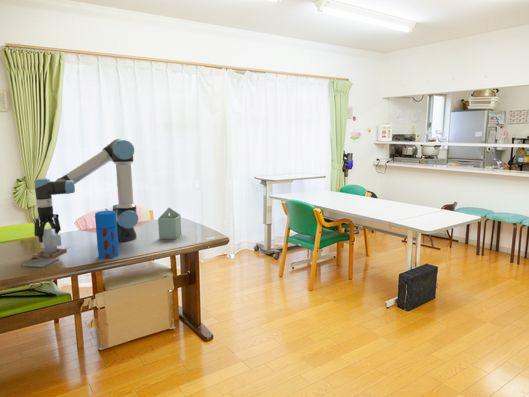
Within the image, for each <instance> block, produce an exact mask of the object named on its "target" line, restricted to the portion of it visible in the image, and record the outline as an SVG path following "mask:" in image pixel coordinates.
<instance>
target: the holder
mask: <svg viewBox="0 0 529 397" xmlns="http://www.w3.org/2000/svg"><path fill="white" fill-rule="evenodd" d="M67 252H68V251H67V248H58V247H57V252H54V253H51V254H44V253H43V249H42V250H40V251H37V252H35V253H33V254H32V255H31V256H32V258H33V259H38V258H50V259H56V258H58V257H59V256H62V255H65V253H67Z"/></svg>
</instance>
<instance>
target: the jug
mask: <svg viewBox="0 0 529 397" xmlns="http://www.w3.org/2000/svg"><path fill="white" fill-rule="evenodd" d="M43 236H44V239H45V247H46V248H42V250H43V253H44V254H45V255H51V254H54V253H57V248H58V247H60V246H62V238H61V234H58V235H57V234H55V228H51V227H47V228H46V227H45V228H44V232H43Z"/></svg>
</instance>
